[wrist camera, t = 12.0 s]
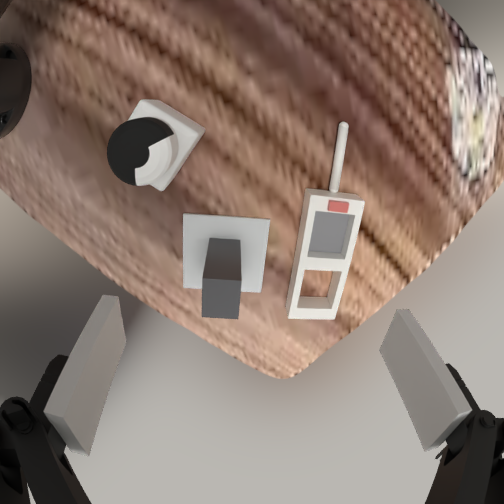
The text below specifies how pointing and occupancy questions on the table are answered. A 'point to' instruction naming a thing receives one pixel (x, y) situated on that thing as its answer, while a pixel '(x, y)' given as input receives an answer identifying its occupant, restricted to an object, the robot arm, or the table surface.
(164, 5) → the table surface
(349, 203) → the power strip
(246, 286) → the mat
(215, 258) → the block
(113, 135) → the medicine bottle
